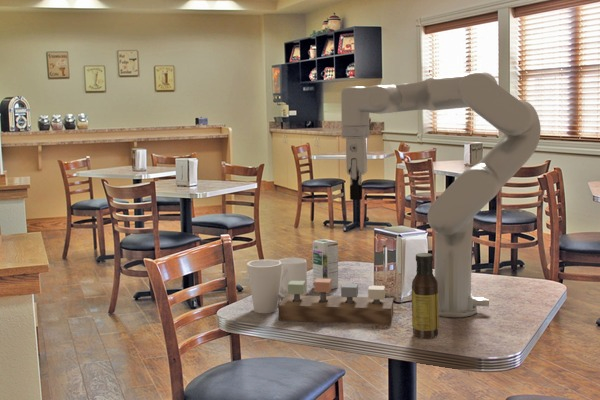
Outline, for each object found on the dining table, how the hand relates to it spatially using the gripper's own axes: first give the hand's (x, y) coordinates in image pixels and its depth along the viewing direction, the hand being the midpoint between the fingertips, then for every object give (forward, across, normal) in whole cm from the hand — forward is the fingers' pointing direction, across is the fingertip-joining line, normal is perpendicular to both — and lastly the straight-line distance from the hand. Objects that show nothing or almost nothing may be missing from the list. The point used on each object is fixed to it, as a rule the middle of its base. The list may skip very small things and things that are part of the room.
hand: (356, 199), depth 205 cm
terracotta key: (+25, -14, +8) cm, 30 cm away
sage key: (+26, -14, +14) cm, 33 cm away
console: (+29, -14, +4) cm, 33 cm away
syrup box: (+29, +15, +11) cm, 35 cm away
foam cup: (+29, -10, +24) cm, 39 cm away
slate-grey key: (+27, -14, 0) cm, 31 cm away
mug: (+29, +4, +20) cm, 36 cm away
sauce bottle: (+29, -27, -19) cm, 44 cm away
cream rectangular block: (+28, -14, -7) cm, 32 cm away
